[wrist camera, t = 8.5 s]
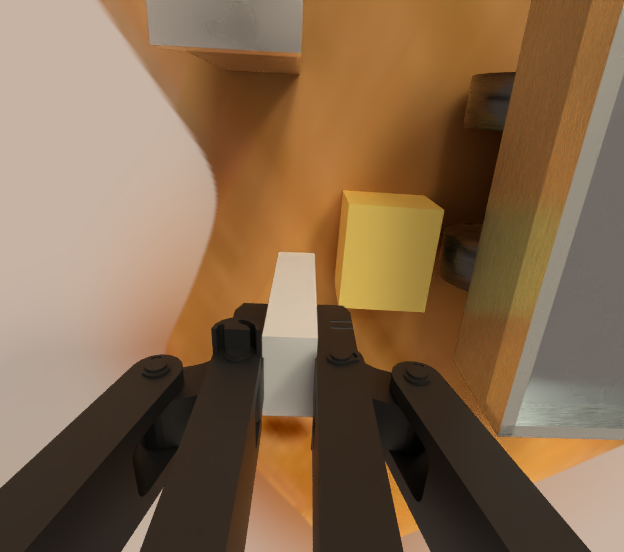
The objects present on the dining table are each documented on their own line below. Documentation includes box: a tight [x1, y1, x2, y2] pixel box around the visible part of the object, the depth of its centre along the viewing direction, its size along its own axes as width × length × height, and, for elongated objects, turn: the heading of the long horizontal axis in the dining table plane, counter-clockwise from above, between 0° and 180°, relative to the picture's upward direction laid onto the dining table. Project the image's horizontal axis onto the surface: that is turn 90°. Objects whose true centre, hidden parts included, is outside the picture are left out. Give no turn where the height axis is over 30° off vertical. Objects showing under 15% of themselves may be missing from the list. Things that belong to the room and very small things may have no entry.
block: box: [334, 190, 444, 312], centre depth 24 cm, size 6×5×4 cm
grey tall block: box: [146, 0, 303, 74], centre depth 16 cm, size 4×4×11 cm
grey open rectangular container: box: [437, 0, 624, 440], centre depth 19 cm, size 18×13×12 cm
